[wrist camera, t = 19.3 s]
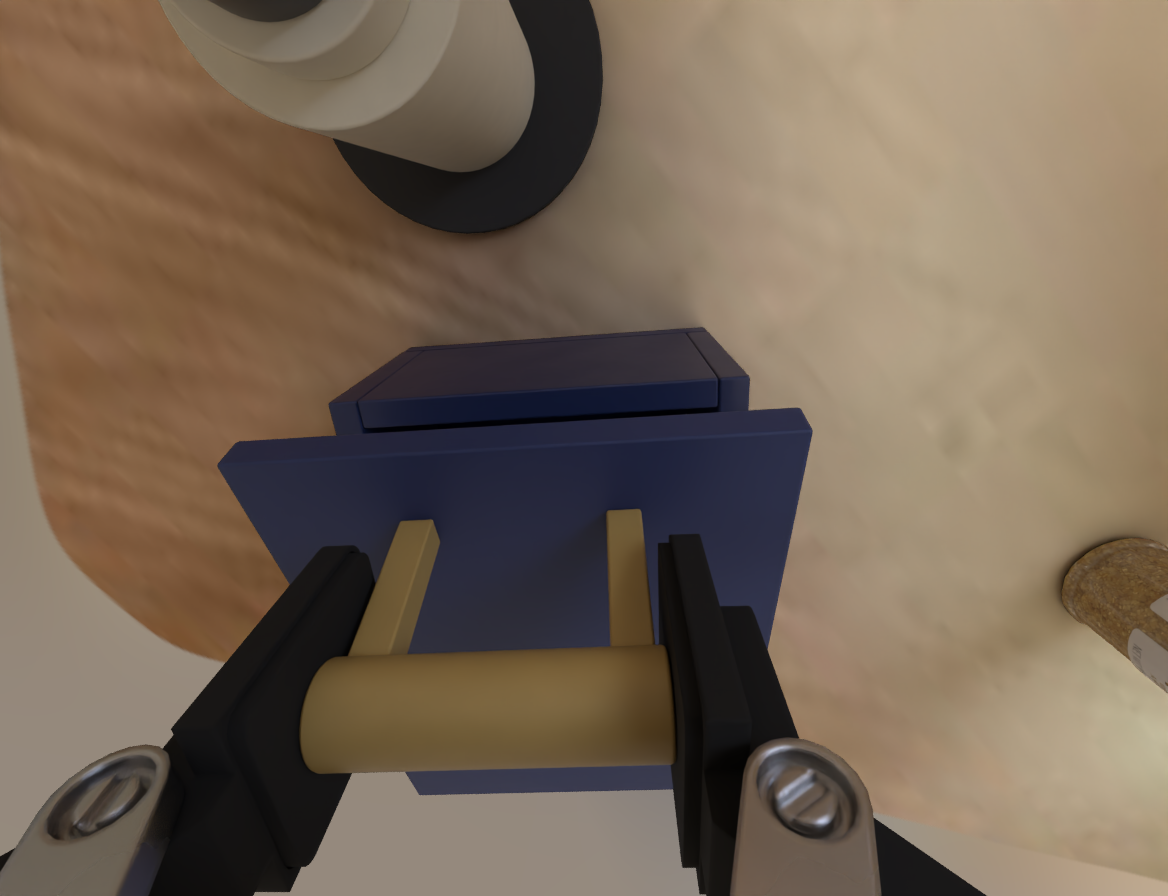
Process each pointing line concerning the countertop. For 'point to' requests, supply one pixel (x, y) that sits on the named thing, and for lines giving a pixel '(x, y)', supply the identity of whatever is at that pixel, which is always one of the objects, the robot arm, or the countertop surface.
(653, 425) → the case lid
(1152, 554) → the sprinkles bottle
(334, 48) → the bottle
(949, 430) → the countertop surface
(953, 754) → the countertop surface
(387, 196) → the coaster
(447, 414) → the case
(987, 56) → the countertop surface
